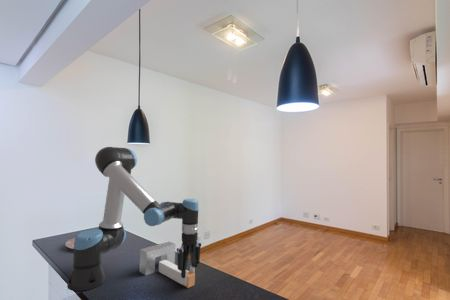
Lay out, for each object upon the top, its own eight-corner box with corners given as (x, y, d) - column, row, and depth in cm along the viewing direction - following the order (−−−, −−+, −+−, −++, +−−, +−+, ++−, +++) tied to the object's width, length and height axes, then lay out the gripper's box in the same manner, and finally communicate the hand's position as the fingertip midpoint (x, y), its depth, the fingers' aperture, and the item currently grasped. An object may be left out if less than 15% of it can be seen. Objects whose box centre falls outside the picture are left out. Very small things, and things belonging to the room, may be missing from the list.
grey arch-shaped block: (174, 264, 137) (175, 244, 138) (145, 275, 124) (146, 252, 124) (168, 261, 141) (169, 241, 142) (139, 271, 128) (140, 249, 128)
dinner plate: (119, 240, 176) (119, 235, 177) (95, 254, 149) (96, 249, 149) (83, 238, 179) (84, 233, 179) (54, 251, 152) (54, 246, 152)
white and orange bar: (194, 284, 115) (195, 274, 116) (188, 288, 112) (188, 276, 113) (165, 269, 131) (165, 259, 132) (158, 271, 128) (158, 261, 129)
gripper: (180, 237, 108) (178, 292, 107) (208, 230, 120) (206, 278, 119) (170, 234, 113) (168, 286, 112) (197, 227, 125) (196, 273, 124)
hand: (188, 282), depth 115 cm, fingers closed on white and orange bar, 4 cm apart
